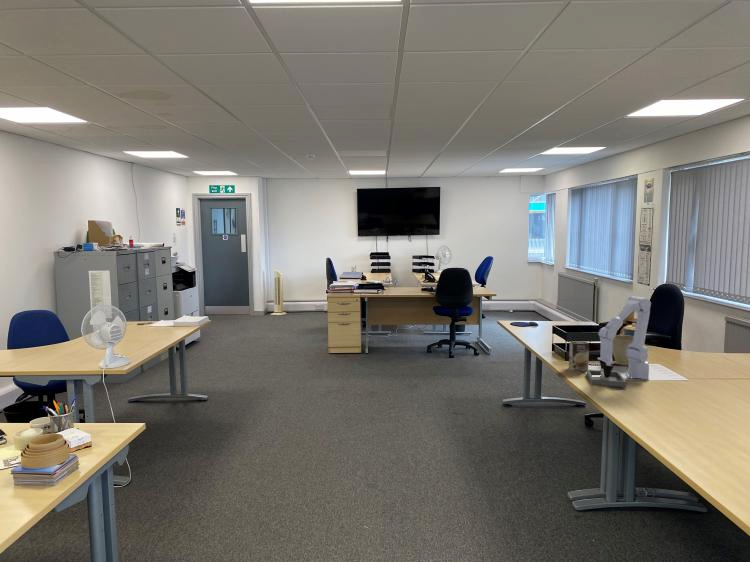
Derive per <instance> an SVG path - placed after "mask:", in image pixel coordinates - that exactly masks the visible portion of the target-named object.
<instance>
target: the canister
mask: <svg viewBox="0 0 750 562" xmlns="http://www.w3.org/2000/svg"><path fill="white" fill-rule="evenodd" d="M635 327H636V322H632V323H631V324H629V325H625V326H623V328H624V329H623V330H622V335H626V336H633V337H634V332H635ZM636 349H637V348H636Z"/></svg>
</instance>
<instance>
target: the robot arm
mask: <svg viewBox="0 0 750 562" xmlns="http://www.w3.org/2000/svg"><path fill="white" fill-rule="evenodd" d="M651 305H652V302H651V301H650V299H649V298H647V297H640V296H635V295H630V296H629V297H628V298H627V299H626V300H625V306H623V308H622V309H621V311H620V312H619V313H618V315H616V316H614V317H611V319H610V321H608V323H607V324H606V325H605V326H604V327H602V328H600V329H599V331H598V332H597V335H598V336H599V340H600V353H599V354H600V357H597V360H598V362H599V365H600V369H601V368H603V370H604V376H605V378H609V377H610V374H611V371H613V369H614V367H615V366H614V365H613V364H612V362H613V361H614V360H613V351H612V349H613V339H614V338H615V336H616V335H617V332H618V331H619V329H620V328H621V327H622V326H623V324H624V320H625V319H626V318H627V317H628V316H630V315H631V313H633V312H635V313H636V314H637V318H636V322H635V324H636V327H635V332H634V338H633V342H632V343H631V344H629V345H628V348H627V350H626V356H627V358H628V360H629V365H628V375H629V377H628V378H629V379H633V378H641V379H640V380H649V377H650V376H649V374H650V373H649V372H650V364H649V362H648V361H647V360H648V356H649V354H648V347H647V346H646V345H645V341H646V336H647V329H648V325H649V320H650V314H651V307H652V306H651ZM635 348H637V349H635ZM631 377H632V378H631Z"/></svg>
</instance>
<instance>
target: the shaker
mask: <svg viewBox="0 0 750 562" xmlns="http://www.w3.org/2000/svg"><path fill="white" fill-rule="evenodd" d="M600 371H601V380H610V377H609V378H605V376H604V370H603V368H601V367H600Z"/></svg>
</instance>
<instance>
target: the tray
mask: <svg viewBox="0 0 750 562" xmlns="http://www.w3.org/2000/svg"><path fill="white" fill-rule="evenodd" d="M592 375H601V369H600V370H597V369H595V370H594V369H588V370H587V371H586V376H587V378H588V380H589V383H590V385H591V386H598V387H613V388H615V387H616V388H627V381H626V379H625V378H624V377H623V376H622V374H621V373H620V371H614V370H612V371H611V374H610V380H601V376H600V377H592Z"/></svg>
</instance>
